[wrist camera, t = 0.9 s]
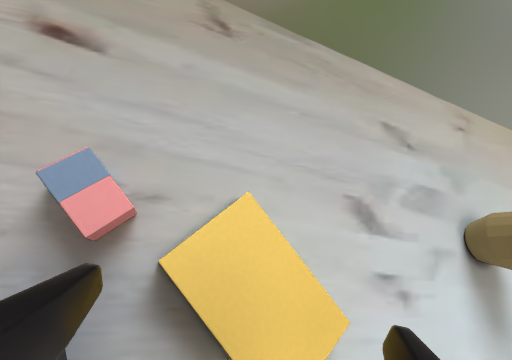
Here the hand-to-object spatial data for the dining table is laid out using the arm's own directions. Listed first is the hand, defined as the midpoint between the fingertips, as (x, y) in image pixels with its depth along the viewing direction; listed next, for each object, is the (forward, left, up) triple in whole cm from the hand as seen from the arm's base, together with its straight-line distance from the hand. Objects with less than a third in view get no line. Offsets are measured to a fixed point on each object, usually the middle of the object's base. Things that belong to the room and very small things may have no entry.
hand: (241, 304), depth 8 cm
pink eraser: (-2, +11, -18) cm, 21 cm away
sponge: (+4, -5, -18) cm, 19 cm away
